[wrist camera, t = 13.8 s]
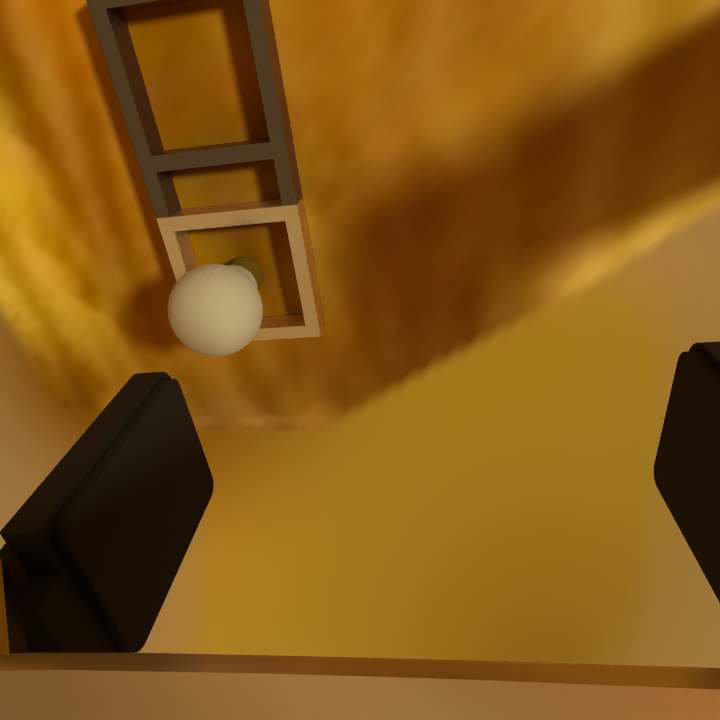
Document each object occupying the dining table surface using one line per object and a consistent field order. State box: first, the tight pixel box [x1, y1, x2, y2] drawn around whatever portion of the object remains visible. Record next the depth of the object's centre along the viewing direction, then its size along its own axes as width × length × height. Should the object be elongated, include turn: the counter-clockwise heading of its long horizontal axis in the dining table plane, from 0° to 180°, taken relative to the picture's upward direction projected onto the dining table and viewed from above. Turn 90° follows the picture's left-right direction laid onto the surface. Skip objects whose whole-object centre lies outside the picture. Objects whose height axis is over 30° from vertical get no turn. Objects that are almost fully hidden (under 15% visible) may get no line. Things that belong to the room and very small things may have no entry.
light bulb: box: [168, 257, 263, 356], centre depth 35 cm, size 6×6×10 cm
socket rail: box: [87, 0, 325, 341], centre depth 35 cm, size 10×23×2 cm, turn 7°
